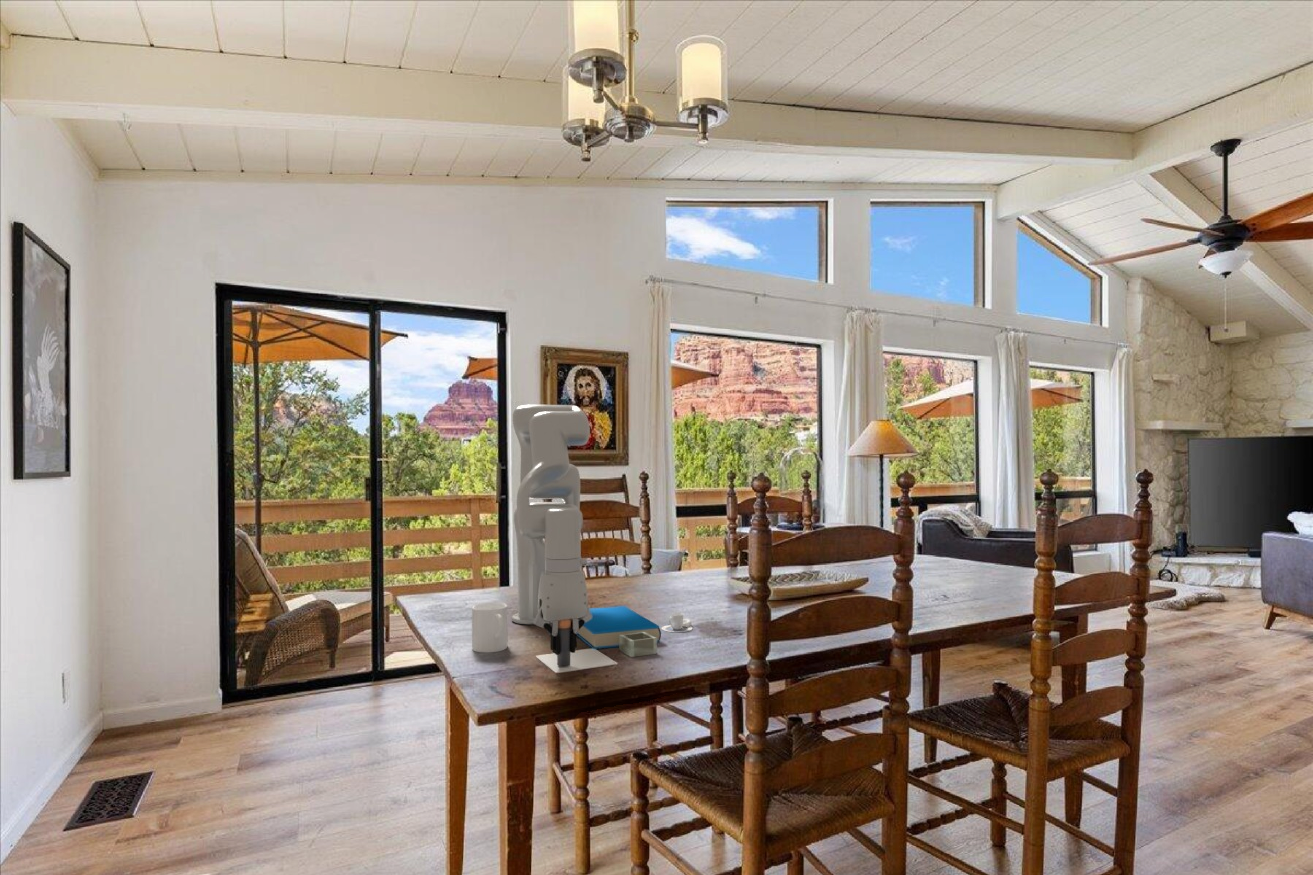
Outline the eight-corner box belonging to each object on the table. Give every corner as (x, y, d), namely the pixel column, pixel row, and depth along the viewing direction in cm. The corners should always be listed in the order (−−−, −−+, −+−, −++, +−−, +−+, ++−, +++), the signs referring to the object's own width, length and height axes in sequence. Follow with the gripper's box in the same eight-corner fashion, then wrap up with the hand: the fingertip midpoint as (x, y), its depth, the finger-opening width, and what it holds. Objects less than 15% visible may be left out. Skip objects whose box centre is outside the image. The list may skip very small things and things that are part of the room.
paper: (535, 656, 173) (535, 655, 173) (593, 648, 179) (593, 648, 179) (555, 673, 160) (555, 672, 160) (617, 664, 166) (617, 663, 166)
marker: (554, 663, 165) (554, 616, 165) (568, 661, 167) (567, 615, 167) (559, 667, 162) (559, 619, 163) (573, 665, 164) (572, 617, 164)
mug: (485, 658, 171) (485, 614, 171) (467, 646, 181) (467, 604, 182) (519, 653, 176) (519, 609, 176) (500, 641, 186) (499, 600, 186)
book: (593, 632, 178) (564, 609, 201) (593, 650, 178) (564, 625, 201) (662, 625, 184) (626, 604, 208) (662, 643, 184) (625, 620, 208)
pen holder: (619, 650, 178) (619, 634, 178) (644, 646, 180) (644, 631, 180) (630, 657, 172) (630, 641, 172) (656, 653, 175) (656, 637, 175)
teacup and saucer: (686, 624, 204) (686, 609, 204) (700, 631, 196) (700, 615, 196) (656, 628, 200) (656, 612, 200) (669, 635, 193) (669, 619, 193)
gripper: (592, 560, 172) (592, 643, 172) (521, 566, 165) (521, 652, 164) (605, 565, 165) (605, 651, 165) (531, 571, 158) (531, 661, 158)
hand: (563, 651), depth 165 cm, fingers closed on marker, 2 cm apart
